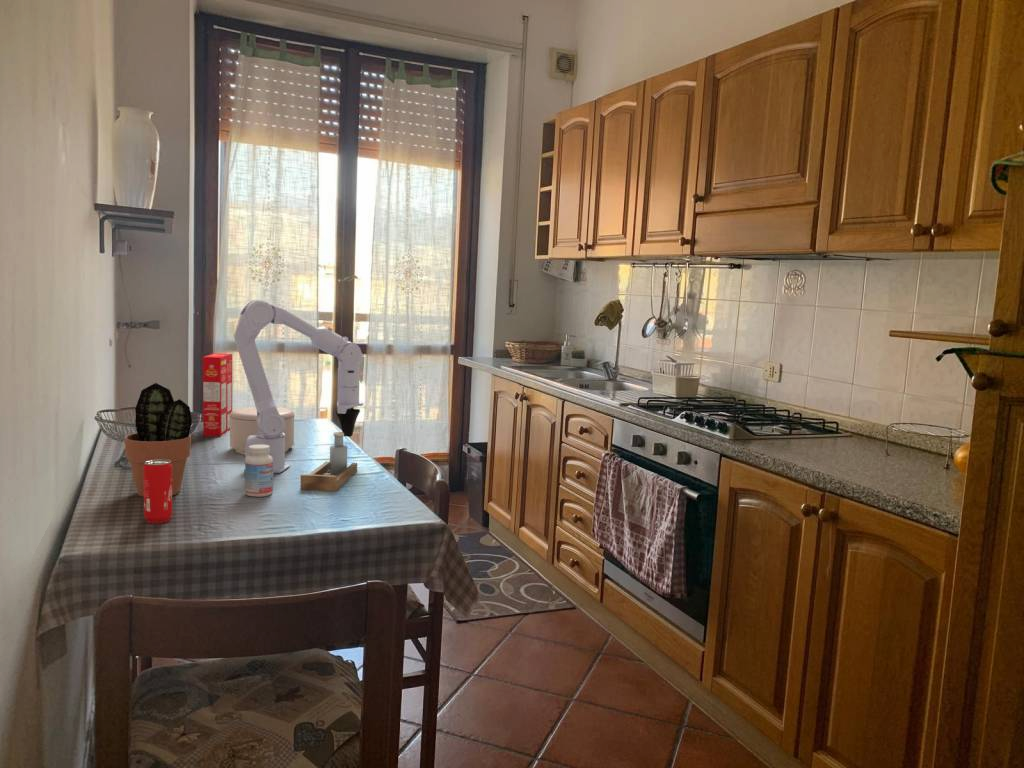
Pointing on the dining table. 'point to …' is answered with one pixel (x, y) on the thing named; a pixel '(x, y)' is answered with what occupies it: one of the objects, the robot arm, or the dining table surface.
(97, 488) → the dining table surface
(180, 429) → the potted plant
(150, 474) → the beverage can
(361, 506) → the dining table surface
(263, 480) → the pill bottle
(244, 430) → the container
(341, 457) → the bottle
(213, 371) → the food packaging
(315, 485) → the cradle
